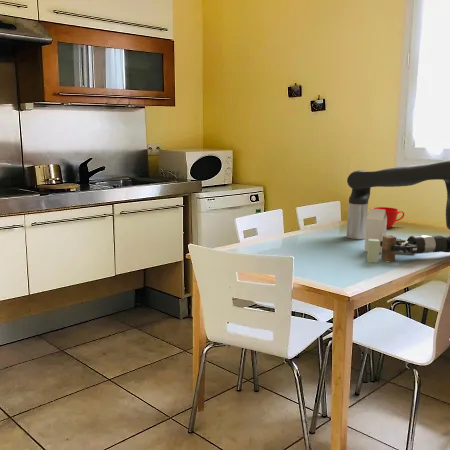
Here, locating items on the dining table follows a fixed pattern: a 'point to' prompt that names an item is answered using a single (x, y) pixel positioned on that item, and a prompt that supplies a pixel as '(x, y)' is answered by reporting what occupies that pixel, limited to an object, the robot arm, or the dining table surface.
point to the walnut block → (388, 248)
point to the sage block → (373, 250)
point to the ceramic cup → (391, 215)
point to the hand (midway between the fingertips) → (385, 246)
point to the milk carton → (375, 226)
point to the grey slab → (402, 252)
